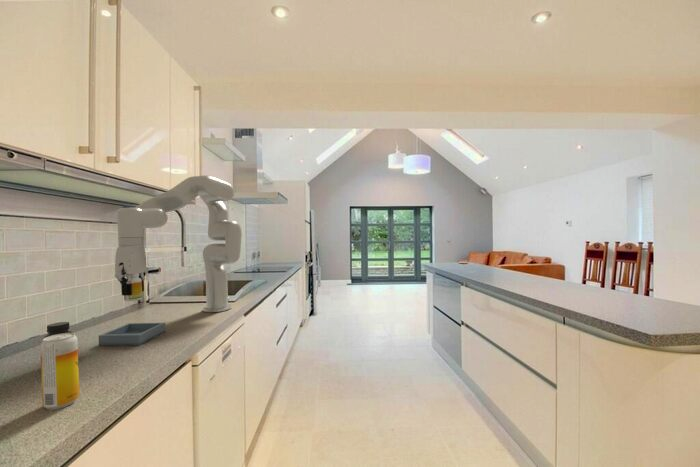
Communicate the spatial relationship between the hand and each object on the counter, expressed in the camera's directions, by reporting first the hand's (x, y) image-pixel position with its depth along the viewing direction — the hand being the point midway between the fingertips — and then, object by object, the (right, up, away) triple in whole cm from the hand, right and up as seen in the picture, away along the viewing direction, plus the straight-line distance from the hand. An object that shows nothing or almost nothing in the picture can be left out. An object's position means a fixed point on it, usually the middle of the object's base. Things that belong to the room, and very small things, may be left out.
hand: (133, 292), depth 113 cm
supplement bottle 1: (-6, -17, -22) cm, 28 cm away
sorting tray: (0, -16, 0) cm, 16 cm away
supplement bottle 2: (0, -3, 0) cm, 3 cm away
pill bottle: (+13, -17, -42) cm, 47 cm away
